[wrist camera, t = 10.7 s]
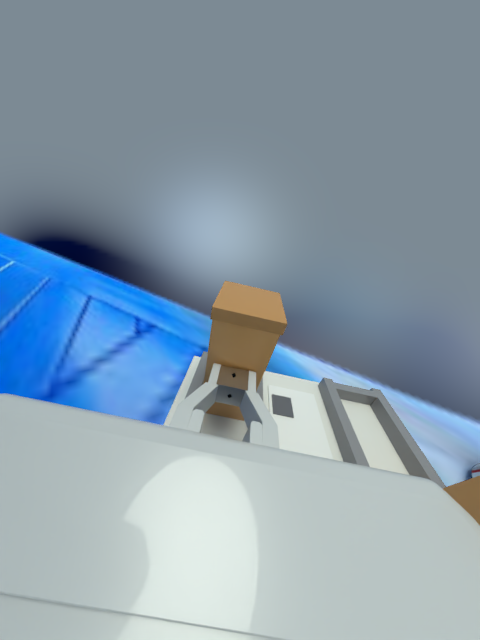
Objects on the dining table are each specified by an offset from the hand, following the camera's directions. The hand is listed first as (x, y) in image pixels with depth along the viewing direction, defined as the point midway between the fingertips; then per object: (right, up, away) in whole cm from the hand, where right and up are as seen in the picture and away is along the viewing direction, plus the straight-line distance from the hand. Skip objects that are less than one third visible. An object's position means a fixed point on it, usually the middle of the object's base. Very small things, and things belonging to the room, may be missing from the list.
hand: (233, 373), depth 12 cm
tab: (-1, -4, +5) cm, 6 cm away
